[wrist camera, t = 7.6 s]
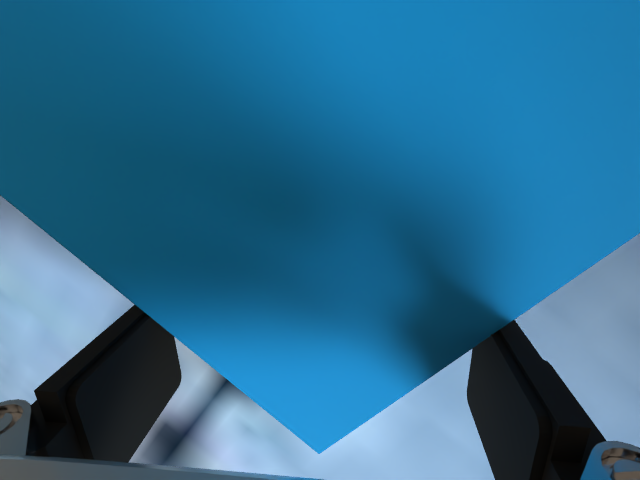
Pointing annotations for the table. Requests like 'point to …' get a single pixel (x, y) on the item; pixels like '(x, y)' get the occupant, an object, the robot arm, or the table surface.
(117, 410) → the robot arm
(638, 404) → the table surface
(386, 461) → the table surface
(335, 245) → the book
